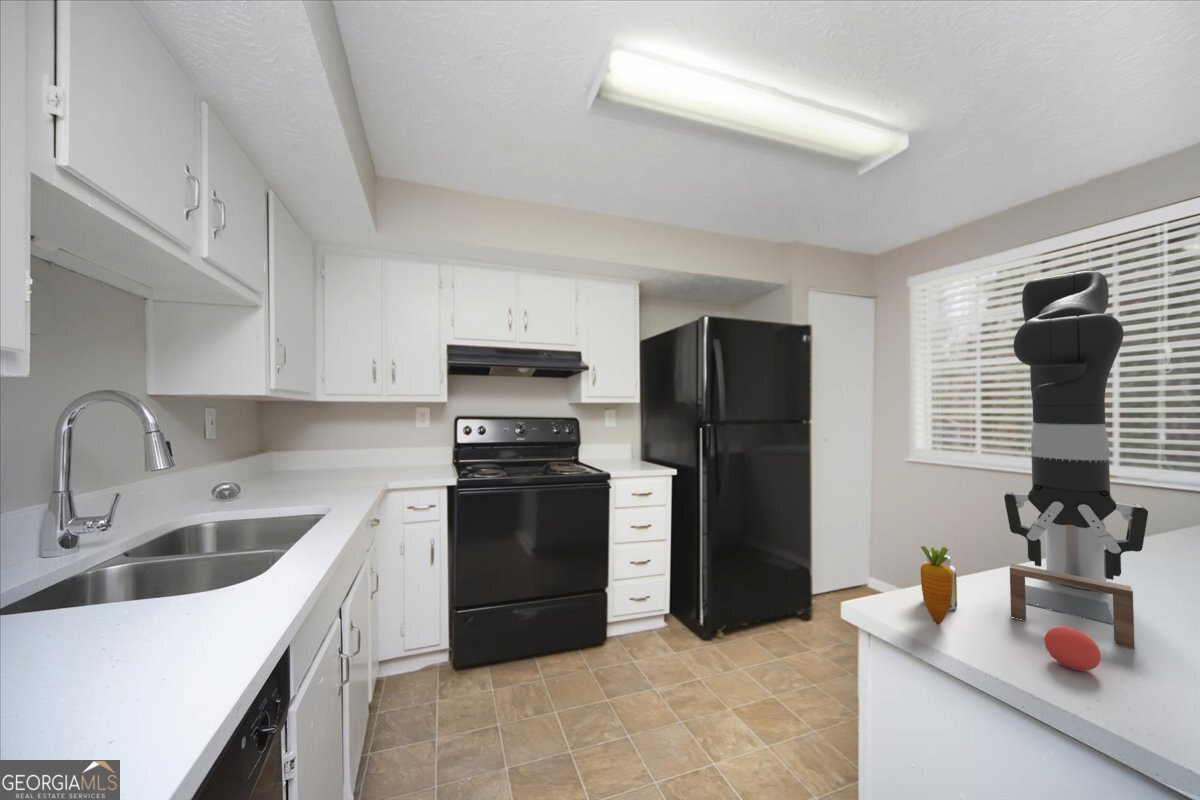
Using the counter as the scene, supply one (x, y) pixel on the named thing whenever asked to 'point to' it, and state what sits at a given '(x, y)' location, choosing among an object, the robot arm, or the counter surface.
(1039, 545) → the robot arm
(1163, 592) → the counter surface
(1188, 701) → the counter surface
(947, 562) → the supplement bottle
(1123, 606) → the bridge
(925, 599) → the carrot
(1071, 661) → the ball
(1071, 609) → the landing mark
